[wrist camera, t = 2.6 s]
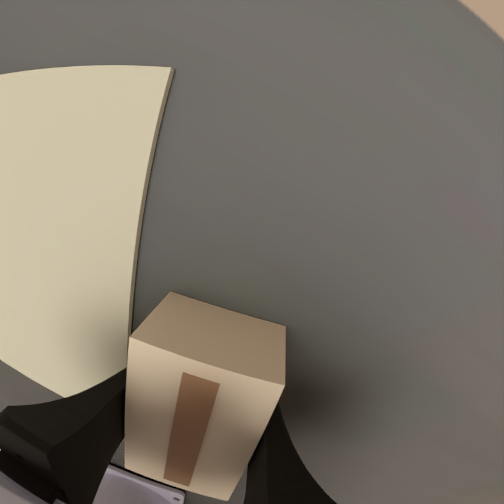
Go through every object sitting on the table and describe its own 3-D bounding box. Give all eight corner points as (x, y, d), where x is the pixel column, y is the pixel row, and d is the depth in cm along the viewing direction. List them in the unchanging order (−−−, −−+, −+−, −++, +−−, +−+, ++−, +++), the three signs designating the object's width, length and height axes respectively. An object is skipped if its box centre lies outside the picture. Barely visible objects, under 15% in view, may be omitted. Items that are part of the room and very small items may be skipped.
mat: (129, 421, 15) (127, 425, 15) (-24, 337, 16) (-27, 339, 15) (174, 70, 11) (171, 67, 10) (-20, 80, 11) (-25, 79, 11)
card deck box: (238, 444, 15) (227, 502, 11) (151, 417, 15) (124, 469, 11) (285, 326, 13) (285, 387, 9) (170, 291, 13) (128, 338, 9)
